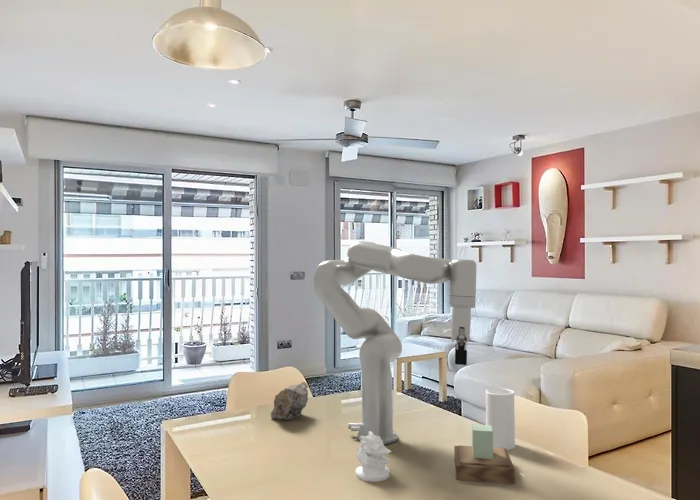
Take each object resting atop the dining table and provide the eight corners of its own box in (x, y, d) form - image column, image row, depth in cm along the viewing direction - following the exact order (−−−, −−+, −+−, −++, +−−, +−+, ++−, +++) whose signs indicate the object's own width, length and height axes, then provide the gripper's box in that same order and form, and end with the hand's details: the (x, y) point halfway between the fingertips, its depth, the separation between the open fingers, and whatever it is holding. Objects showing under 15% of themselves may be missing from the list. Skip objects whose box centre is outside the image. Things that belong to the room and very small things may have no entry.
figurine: (387, 485, 122) (387, 442, 122) (350, 482, 124) (350, 439, 124) (394, 466, 133) (394, 427, 134) (360, 463, 135) (360, 424, 136)
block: (473, 457, 129) (472, 430, 129) (472, 450, 134) (471, 424, 134) (493, 459, 128) (492, 431, 128) (491, 452, 133) (491, 425, 133)
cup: (516, 451, 145) (515, 395, 145) (487, 449, 146) (486, 393, 147) (513, 441, 153) (512, 388, 153) (485, 439, 154) (484, 387, 155)
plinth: (456, 479, 125) (456, 463, 125) (454, 458, 139) (454, 443, 139) (514, 483, 123) (514, 467, 123) (506, 461, 137) (506, 446, 137)
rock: (284, 405, 188) (300, 371, 185) (304, 420, 184) (321, 385, 182) (259, 418, 172) (276, 381, 170) (281, 434, 169) (299, 397, 166)
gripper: (449, 299, 154) (447, 354, 154) (448, 303, 137) (446, 366, 137) (474, 300, 153) (473, 356, 152) (476, 305, 136) (475, 368, 135)
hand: (460, 361), depth 145 cm, fingers open, 9 cm apart
